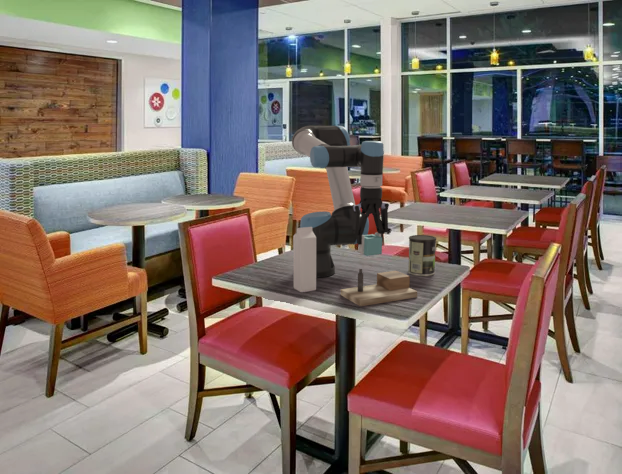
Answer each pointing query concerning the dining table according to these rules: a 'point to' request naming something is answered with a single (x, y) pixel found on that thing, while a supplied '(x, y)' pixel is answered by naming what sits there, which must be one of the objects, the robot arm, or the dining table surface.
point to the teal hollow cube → (372, 245)
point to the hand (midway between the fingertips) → (369, 252)
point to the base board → (375, 293)
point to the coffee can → (422, 255)
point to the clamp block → (393, 280)
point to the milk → (304, 259)
